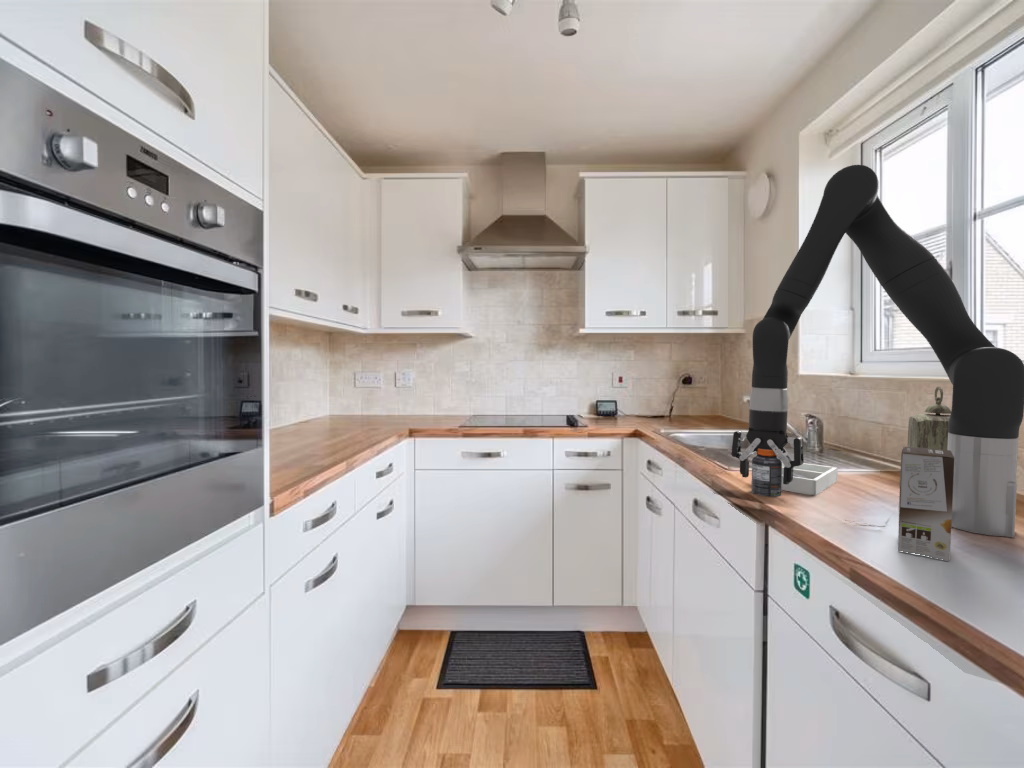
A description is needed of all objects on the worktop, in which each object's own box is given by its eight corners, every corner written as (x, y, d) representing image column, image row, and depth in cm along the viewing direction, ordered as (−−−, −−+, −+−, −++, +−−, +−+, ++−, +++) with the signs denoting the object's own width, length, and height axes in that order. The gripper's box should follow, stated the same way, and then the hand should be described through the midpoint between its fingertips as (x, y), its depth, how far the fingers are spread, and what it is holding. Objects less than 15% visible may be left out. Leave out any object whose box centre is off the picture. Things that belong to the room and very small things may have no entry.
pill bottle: (774, 495, 110) (775, 446, 110) (786, 502, 104) (787, 450, 104) (746, 494, 111) (748, 445, 111) (757, 501, 105) (758, 450, 105)
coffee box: (951, 563, 72) (956, 457, 72) (897, 552, 76) (901, 452, 76) (947, 545, 80) (951, 449, 79) (897, 536, 84) (901, 445, 83)
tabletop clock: (964, 492, 115) (969, 388, 114) (915, 487, 119) (919, 386, 118) (949, 480, 127) (953, 386, 126) (905, 476, 132) (909, 385, 131)
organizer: (837, 485, 120) (837, 467, 120) (815, 500, 106) (816, 480, 106) (781, 476, 129) (782, 460, 129) (754, 490, 115) (755, 471, 115)
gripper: (809, 410, 105) (805, 483, 105) (741, 405, 115) (738, 472, 115) (799, 412, 99) (795, 489, 100) (728, 406, 110) (726, 477, 110)
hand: (765, 480), depth 108 cm, fingers open, 8 cm apart
